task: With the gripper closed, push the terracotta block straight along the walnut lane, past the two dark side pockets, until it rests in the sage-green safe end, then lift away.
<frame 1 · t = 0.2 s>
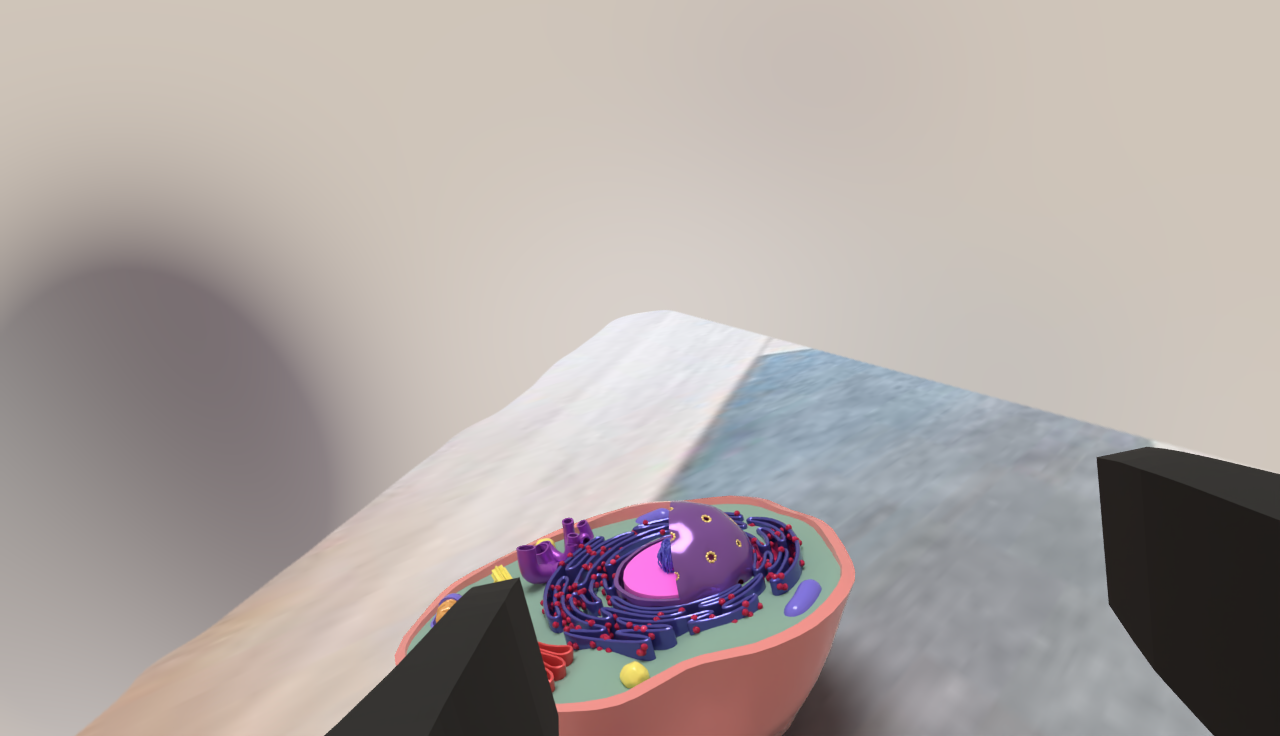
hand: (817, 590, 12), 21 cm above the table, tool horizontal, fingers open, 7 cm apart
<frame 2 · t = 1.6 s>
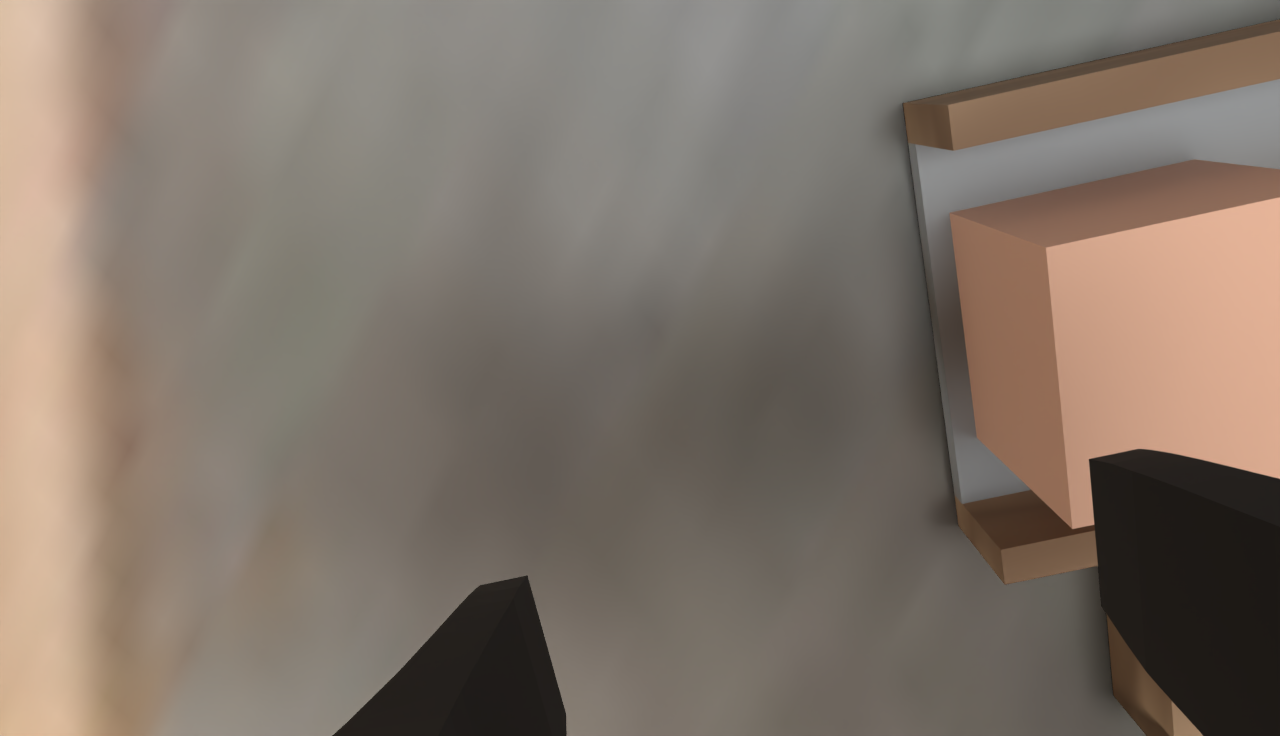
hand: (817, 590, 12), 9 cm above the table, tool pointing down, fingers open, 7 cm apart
block: (1081, 304, 20), resting on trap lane
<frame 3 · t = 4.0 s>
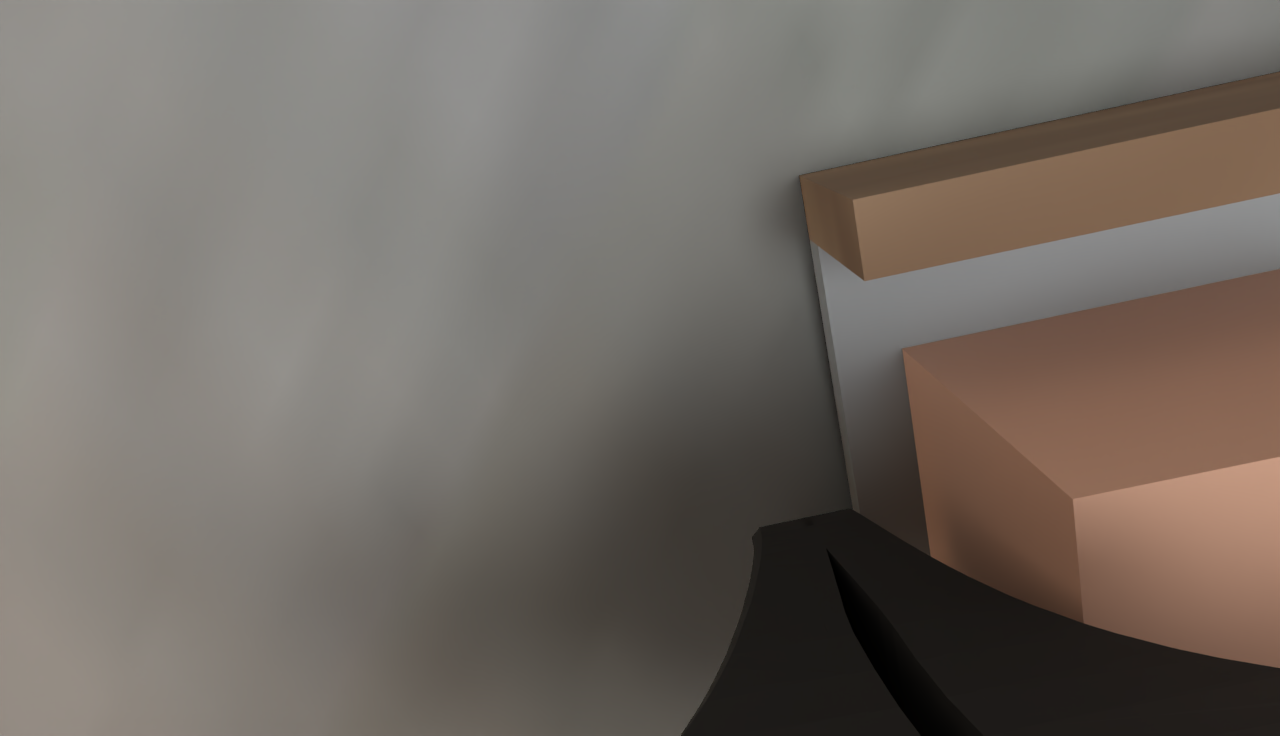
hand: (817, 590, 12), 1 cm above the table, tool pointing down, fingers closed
block: (1116, 489, 12), point 1 cm above the table, touching gripper, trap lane
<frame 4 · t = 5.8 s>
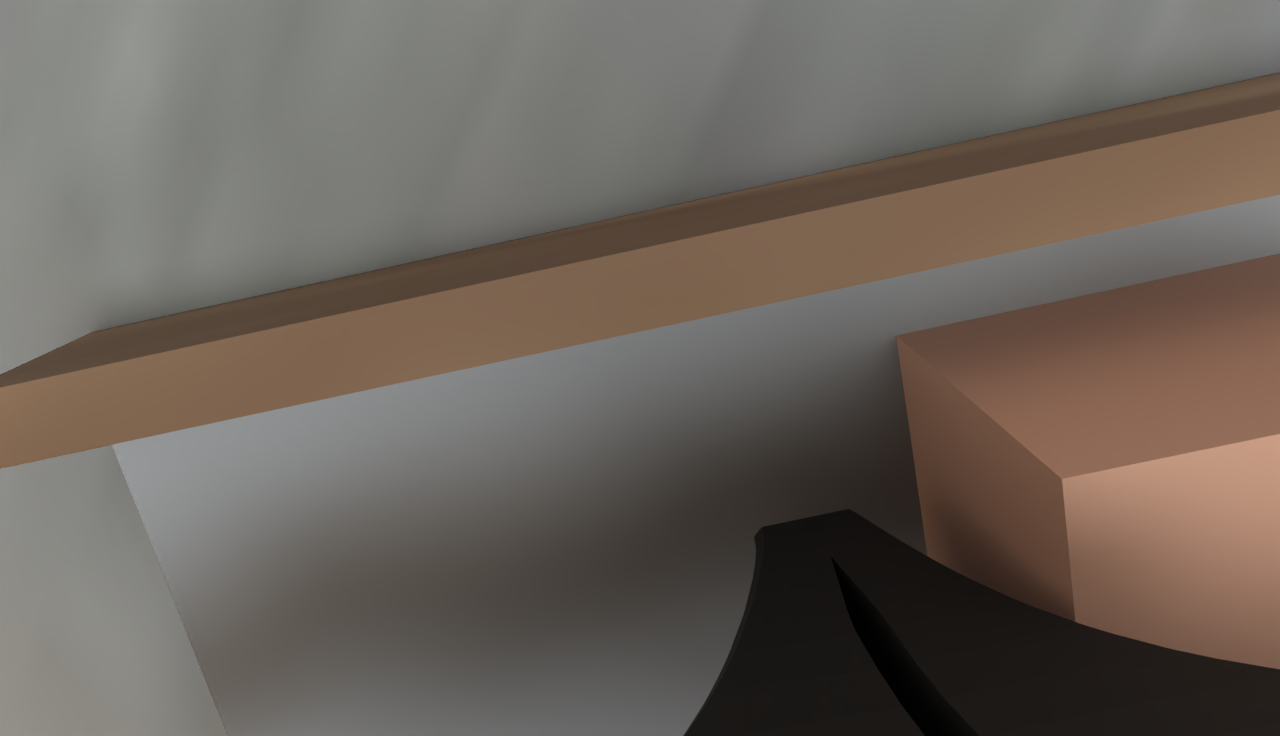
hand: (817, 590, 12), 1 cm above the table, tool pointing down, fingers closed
block: (1112, 477, 12), point 1 cm above the table, touching gripper
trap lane: (1220, 452, 13), on the table
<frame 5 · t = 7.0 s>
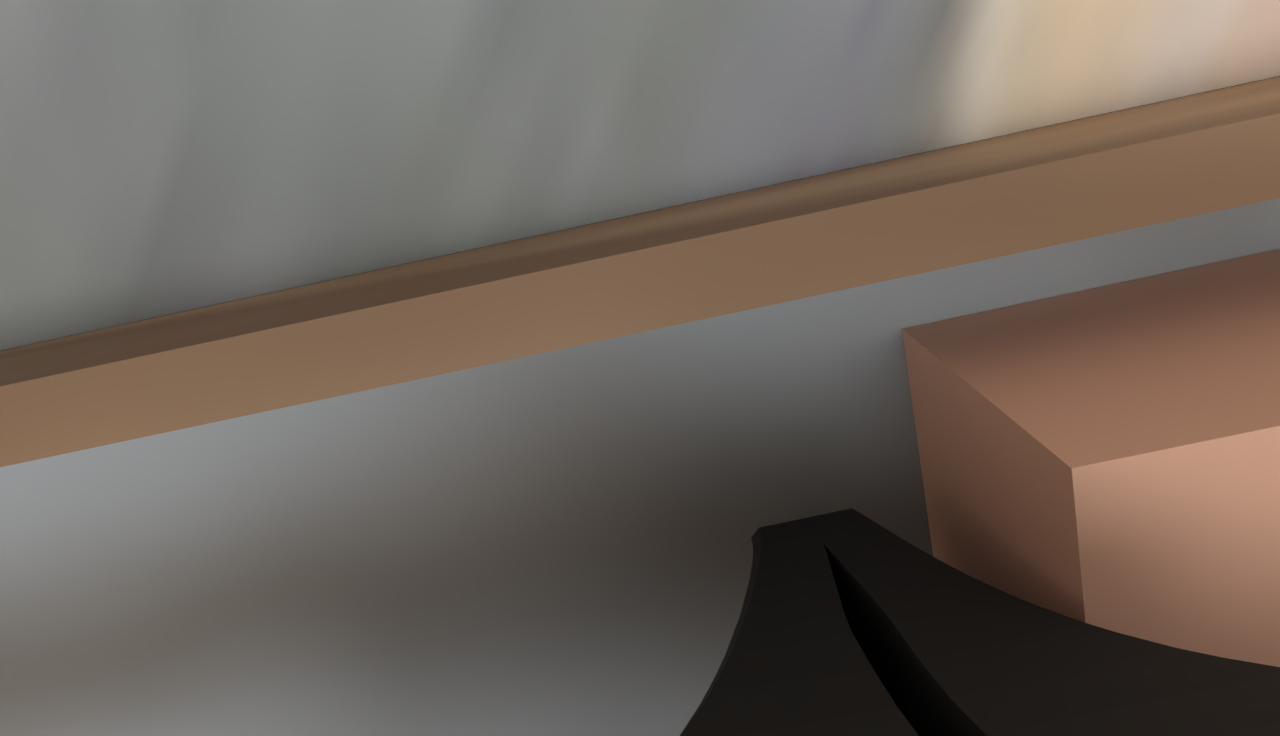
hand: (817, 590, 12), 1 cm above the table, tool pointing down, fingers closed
block: (1118, 471, 12), point 1 cm above the table, touching gripper
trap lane: (707, 558, 13), on the table
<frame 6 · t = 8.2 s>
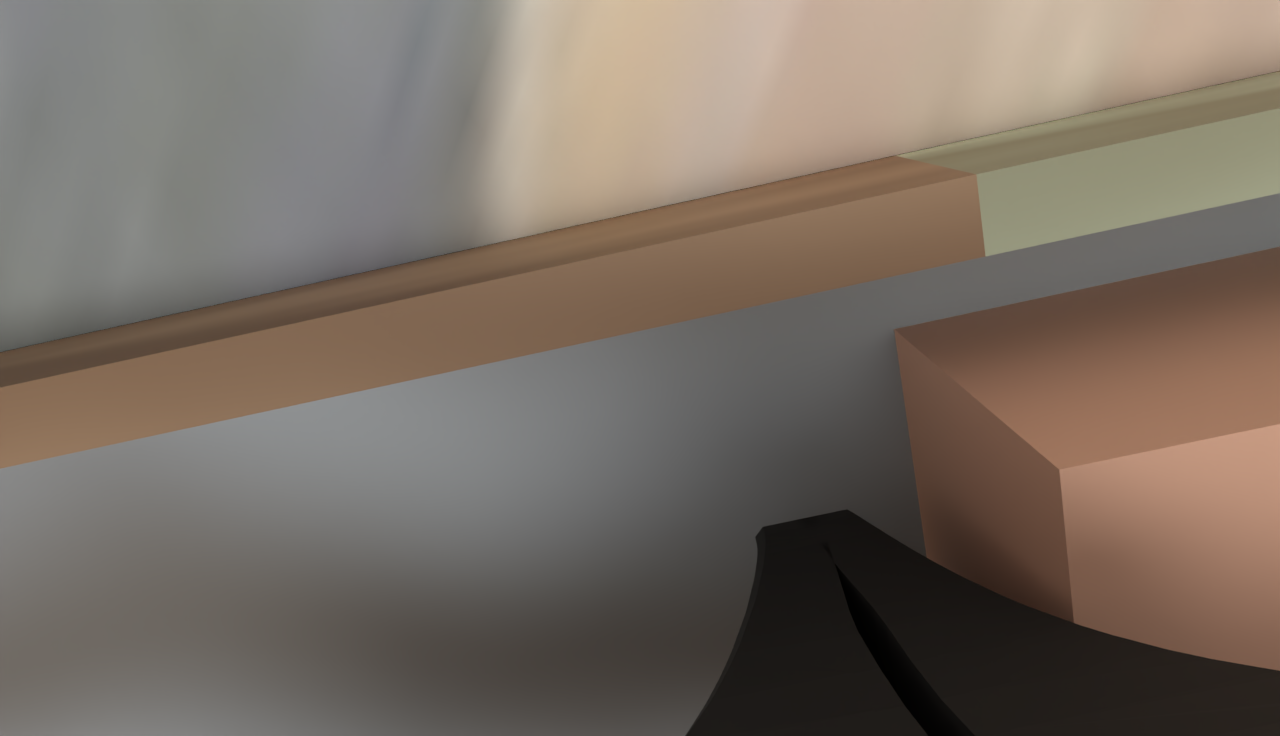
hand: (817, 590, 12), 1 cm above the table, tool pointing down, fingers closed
block: (1110, 471, 12), resting on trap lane, touching gripper
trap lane: (304, 640, 13), on the table
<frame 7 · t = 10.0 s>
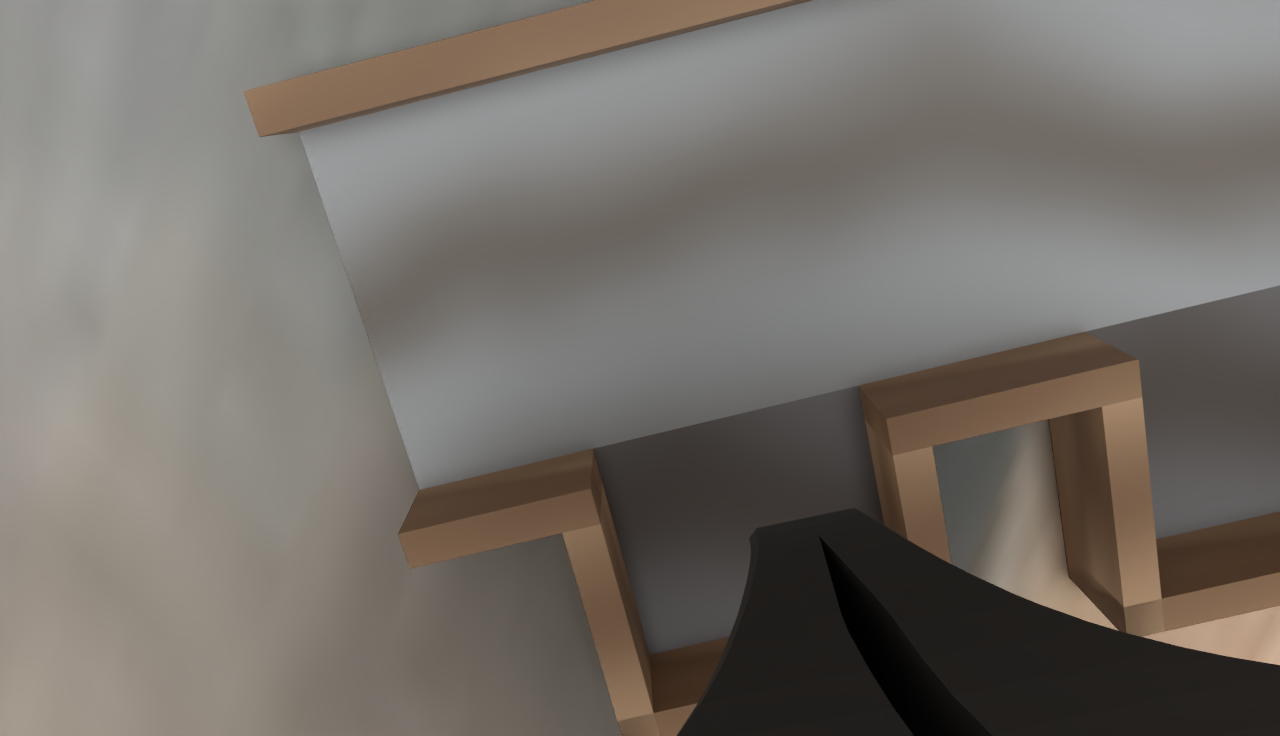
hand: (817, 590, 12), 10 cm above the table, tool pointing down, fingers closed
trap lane: (1006, 158, 20), on the table
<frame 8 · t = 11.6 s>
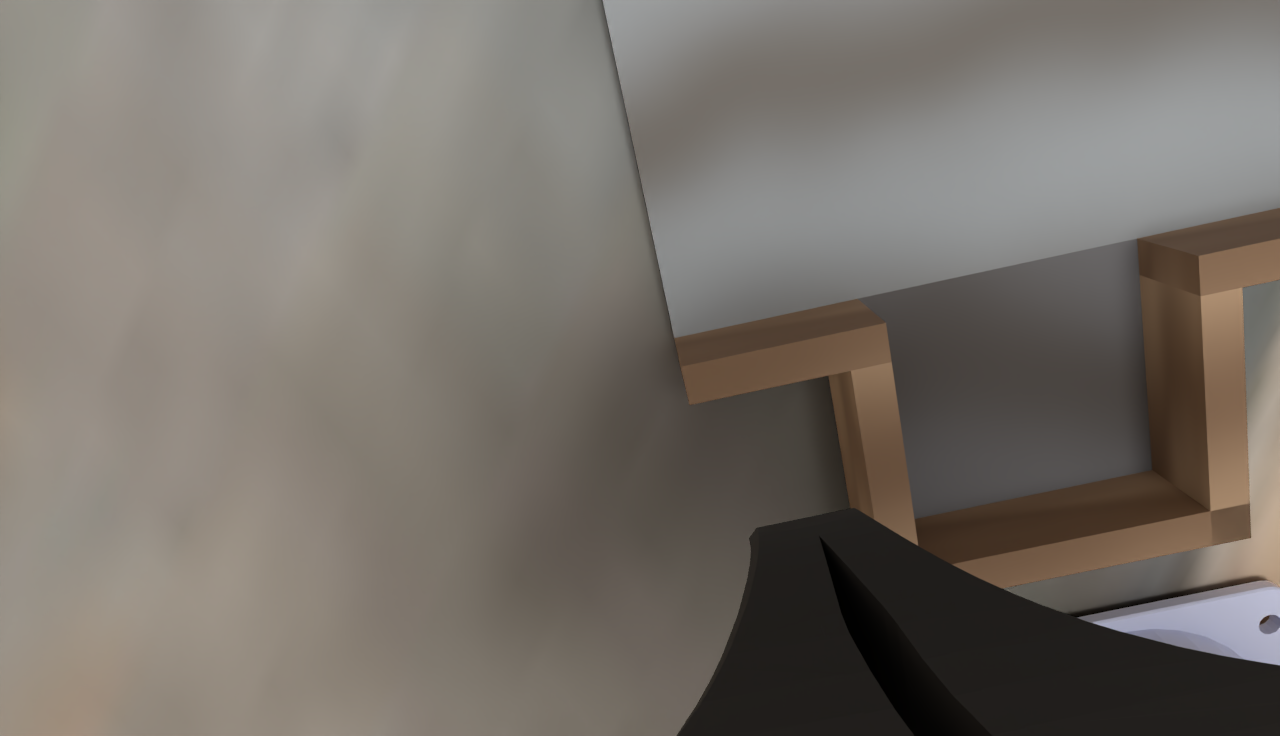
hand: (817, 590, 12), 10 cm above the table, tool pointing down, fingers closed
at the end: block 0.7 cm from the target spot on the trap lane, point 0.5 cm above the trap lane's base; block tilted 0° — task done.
